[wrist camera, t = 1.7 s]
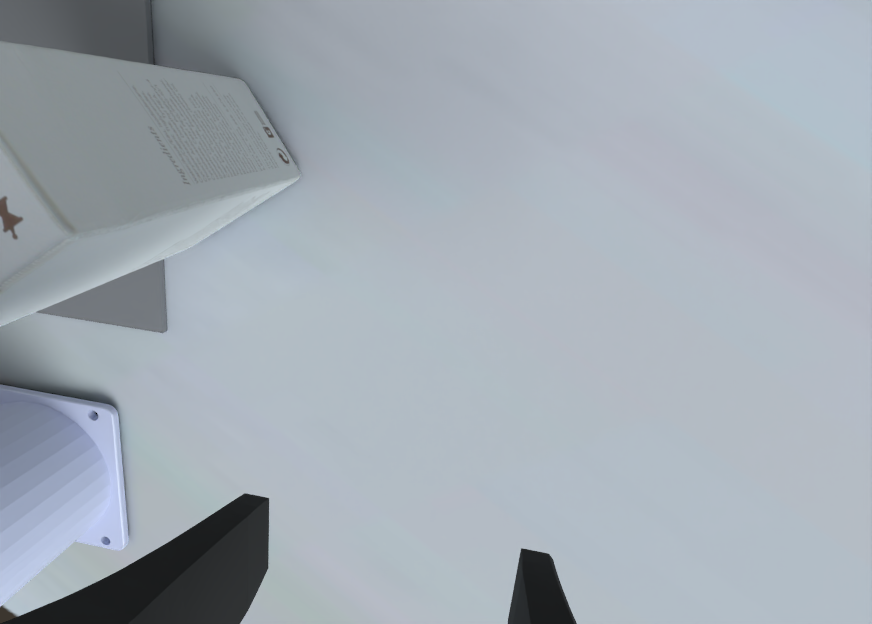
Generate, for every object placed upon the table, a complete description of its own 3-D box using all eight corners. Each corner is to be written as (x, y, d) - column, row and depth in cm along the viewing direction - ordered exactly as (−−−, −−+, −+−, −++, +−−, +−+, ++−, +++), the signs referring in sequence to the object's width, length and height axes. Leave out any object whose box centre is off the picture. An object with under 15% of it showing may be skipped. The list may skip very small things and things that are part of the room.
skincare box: (243, 73, 20) (-97, -13, 9) (310, 182, 21) (83, 233, 10) (121, 161, 22) (-304, 186, 10) (189, 259, 23) (-131, 384, 11)
